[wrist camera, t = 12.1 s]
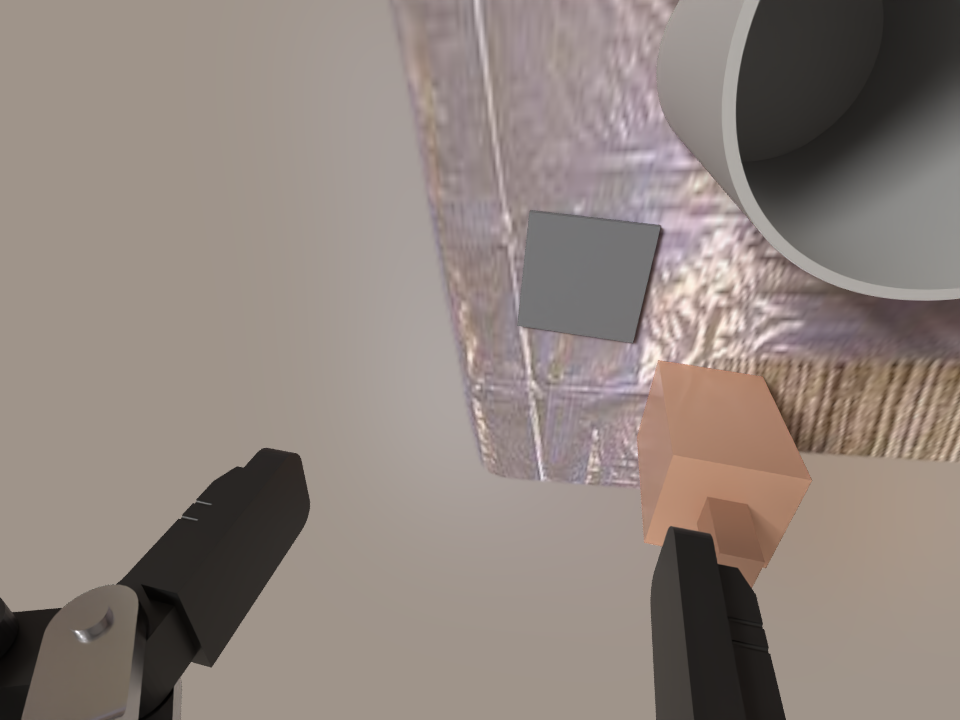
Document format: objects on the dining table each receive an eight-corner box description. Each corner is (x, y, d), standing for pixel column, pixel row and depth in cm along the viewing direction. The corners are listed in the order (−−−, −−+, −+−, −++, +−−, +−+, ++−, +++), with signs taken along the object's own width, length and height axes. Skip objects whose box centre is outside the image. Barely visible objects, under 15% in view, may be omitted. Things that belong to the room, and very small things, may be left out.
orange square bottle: (762, 376, 44) (840, 539, 29) (731, 454, 48) (784, 629, 34) (658, 360, 45) (681, 507, 30) (636, 437, 50) (647, 599, 35)
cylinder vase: (705, 195, 38) (822, 366, 17) (621, 33, 34) (637, -7, 13) (901, 83, 33) (1440, 128, 11) (826, -125, 29) (1418, -627, 8)
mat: (659, 225, 40) (660, 227, 39) (632, 339, 45) (632, 343, 44) (530, 210, 41) (529, 212, 41) (518, 322, 46) (517, 325, 46)
